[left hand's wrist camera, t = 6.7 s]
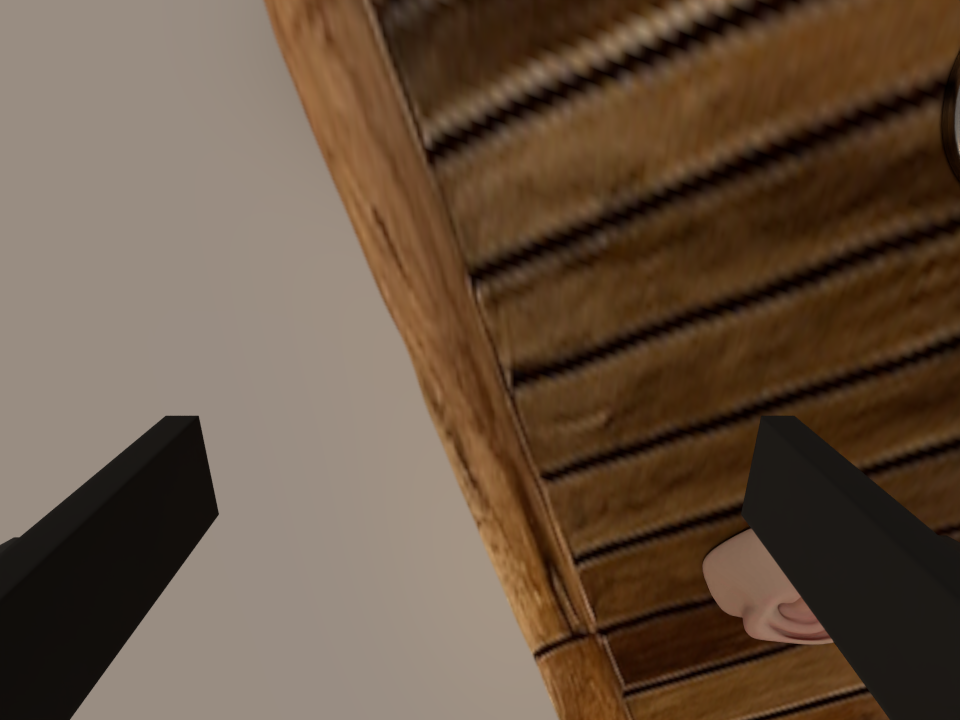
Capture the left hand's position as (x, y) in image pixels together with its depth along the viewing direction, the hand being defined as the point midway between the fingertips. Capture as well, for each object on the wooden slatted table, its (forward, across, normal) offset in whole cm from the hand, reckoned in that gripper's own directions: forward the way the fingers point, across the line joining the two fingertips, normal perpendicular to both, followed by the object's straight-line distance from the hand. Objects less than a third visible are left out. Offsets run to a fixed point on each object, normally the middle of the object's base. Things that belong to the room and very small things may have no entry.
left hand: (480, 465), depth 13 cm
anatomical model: (+26, +26, -27) cm, 45 cm away
